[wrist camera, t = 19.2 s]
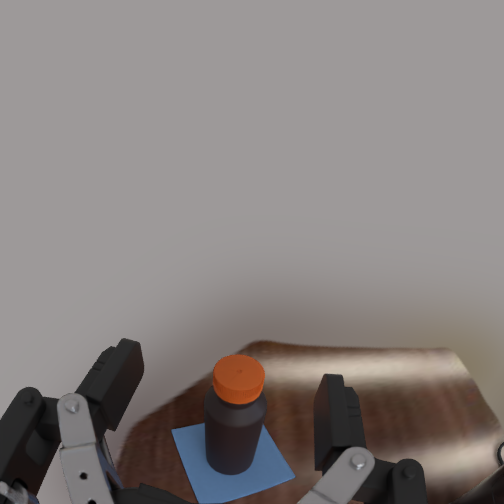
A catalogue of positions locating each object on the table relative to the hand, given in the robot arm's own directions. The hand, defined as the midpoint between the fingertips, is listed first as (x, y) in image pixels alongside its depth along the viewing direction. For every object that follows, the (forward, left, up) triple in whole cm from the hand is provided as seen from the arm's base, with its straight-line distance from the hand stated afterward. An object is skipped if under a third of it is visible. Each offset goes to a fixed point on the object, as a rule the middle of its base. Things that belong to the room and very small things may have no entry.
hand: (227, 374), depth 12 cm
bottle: (-5, -9, -32) cm, 34 cm away
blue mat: (-6, -10, -32) cm, 34 cm away
